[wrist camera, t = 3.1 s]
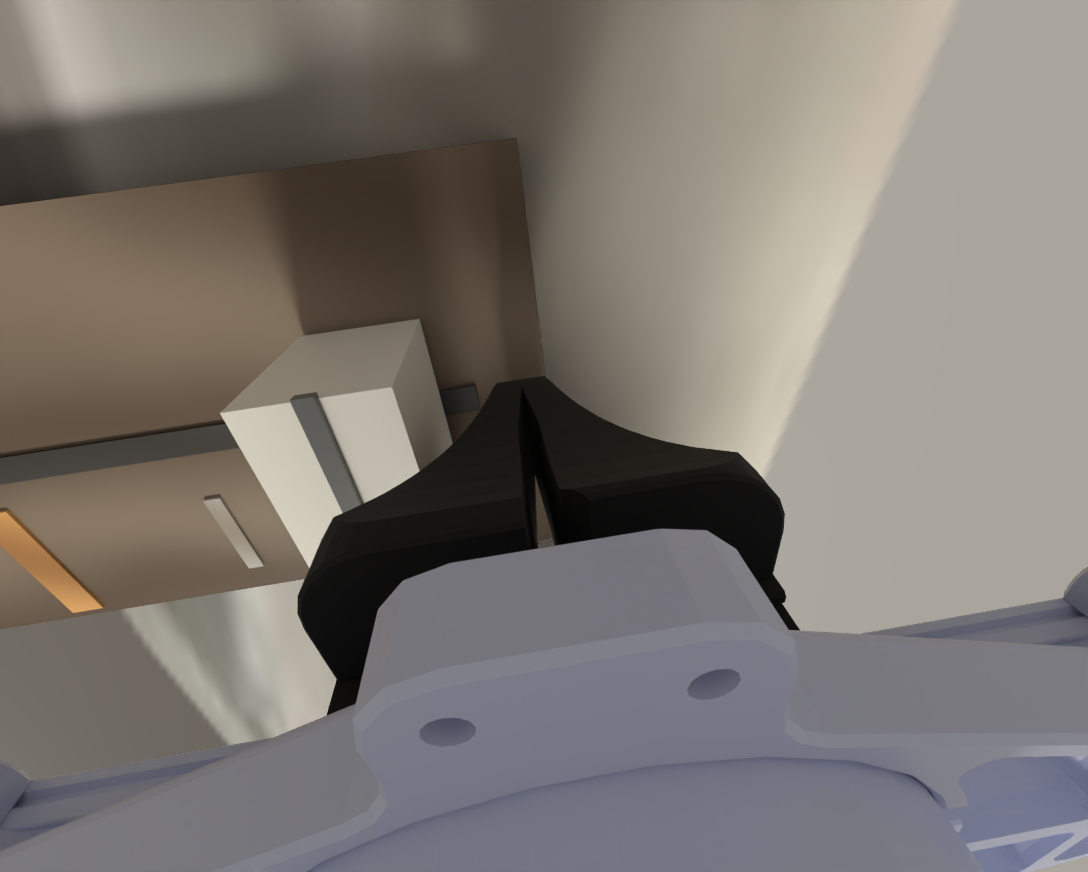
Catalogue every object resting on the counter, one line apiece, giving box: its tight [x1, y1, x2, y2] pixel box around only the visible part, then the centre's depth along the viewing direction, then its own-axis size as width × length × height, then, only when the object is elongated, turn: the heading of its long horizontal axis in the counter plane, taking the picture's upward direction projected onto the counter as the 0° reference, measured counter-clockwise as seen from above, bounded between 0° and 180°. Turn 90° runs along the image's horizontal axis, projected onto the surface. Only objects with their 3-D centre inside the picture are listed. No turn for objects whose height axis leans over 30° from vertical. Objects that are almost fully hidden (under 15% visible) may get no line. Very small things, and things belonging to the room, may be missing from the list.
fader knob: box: [220, 319, 453, 568], centre depth 11 cm, size 5×3×4 cm, turn 6°
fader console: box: [0, 138, 553, 629], centre depth 13 cm, size 12×21×2 cm, turn 96°
